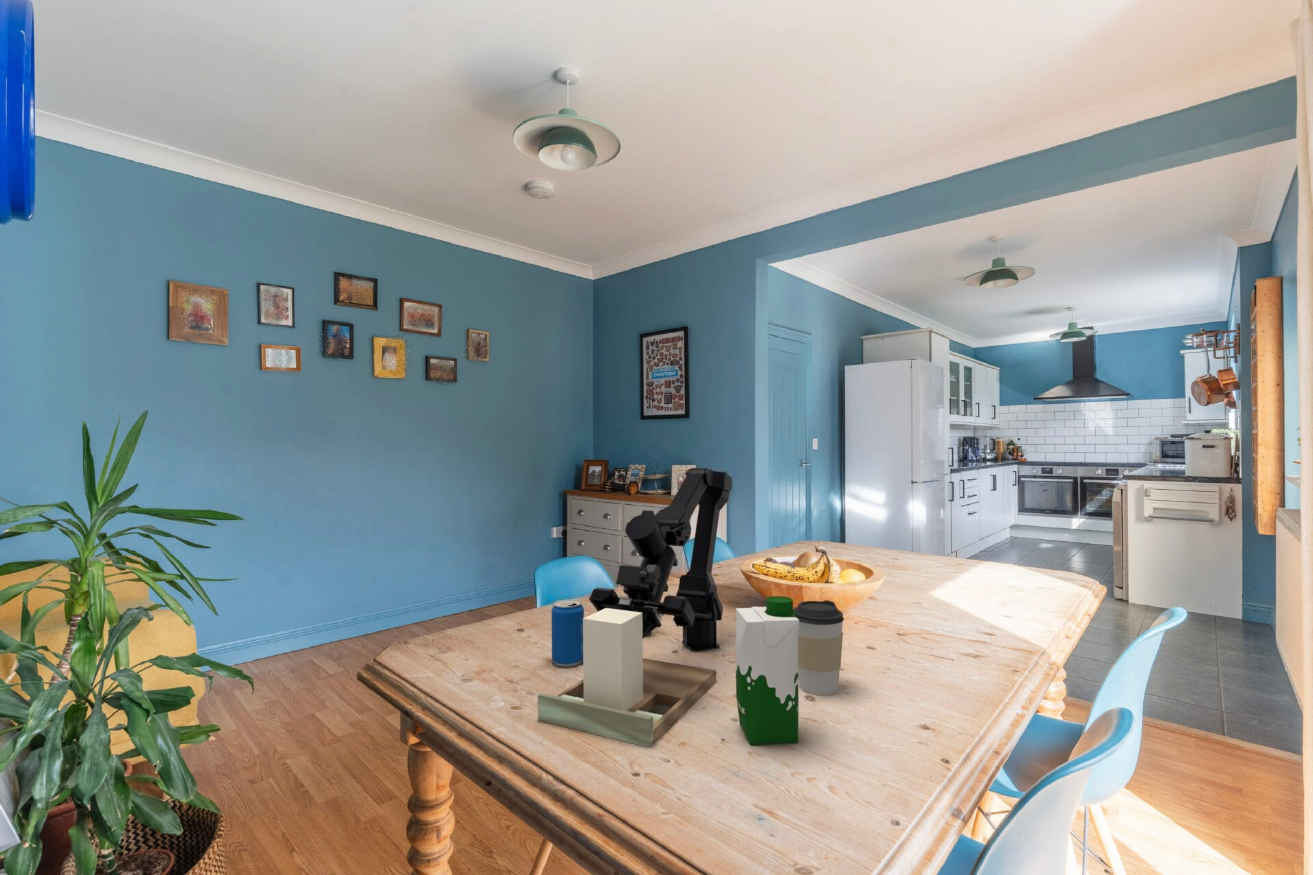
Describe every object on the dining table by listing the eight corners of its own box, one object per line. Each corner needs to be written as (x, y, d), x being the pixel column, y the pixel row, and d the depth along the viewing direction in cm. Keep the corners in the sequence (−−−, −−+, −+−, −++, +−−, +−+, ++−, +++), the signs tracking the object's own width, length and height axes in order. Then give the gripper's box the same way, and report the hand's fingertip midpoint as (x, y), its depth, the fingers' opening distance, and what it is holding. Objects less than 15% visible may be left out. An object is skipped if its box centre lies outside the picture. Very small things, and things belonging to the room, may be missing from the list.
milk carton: (806, 745, 86) (804, 606, 87) (744, 748, 85) (742, 608, 86) (787, 718, 95) (786, 591, 95) (731, 721, 94) (730, 593, 95)
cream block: (606, 690, 101) (605, 607, 102) (643, 698, 98) (642, 612, 99) (583, 706, 95) (583, 618, 95) (621, 715, 92) (621, 623, 92)
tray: (622, 664, 119) (621, 644, 119) (716, 681, 110) (716, 659, 110) (537, 720, 95) (537, 695, 95) (649, 747, 86) (649, 719, 86)
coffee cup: (816, 701, 101) (815, 612, 101) (782, 683, 109) (781, 600, 109) (856, 691, 105) (854, 605, 105) (819, 674, 113) (818, 594, 113)
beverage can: (578, 669, 117) (577, 607, 117) (546, 667, 118) (546, 606, 118) (588, 657, 123) (587, 599, 124) (558, 656, 125) (558, 598, 125)
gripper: (594, 543, 110) (558, 619, 99) (687, 549, 101) (659, 633, 91) (616, 577, 116) (585, 652, 106) (705, 586, 108) (681, 668, 98)
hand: (625, 651), depth 100 cm, fingers closed
